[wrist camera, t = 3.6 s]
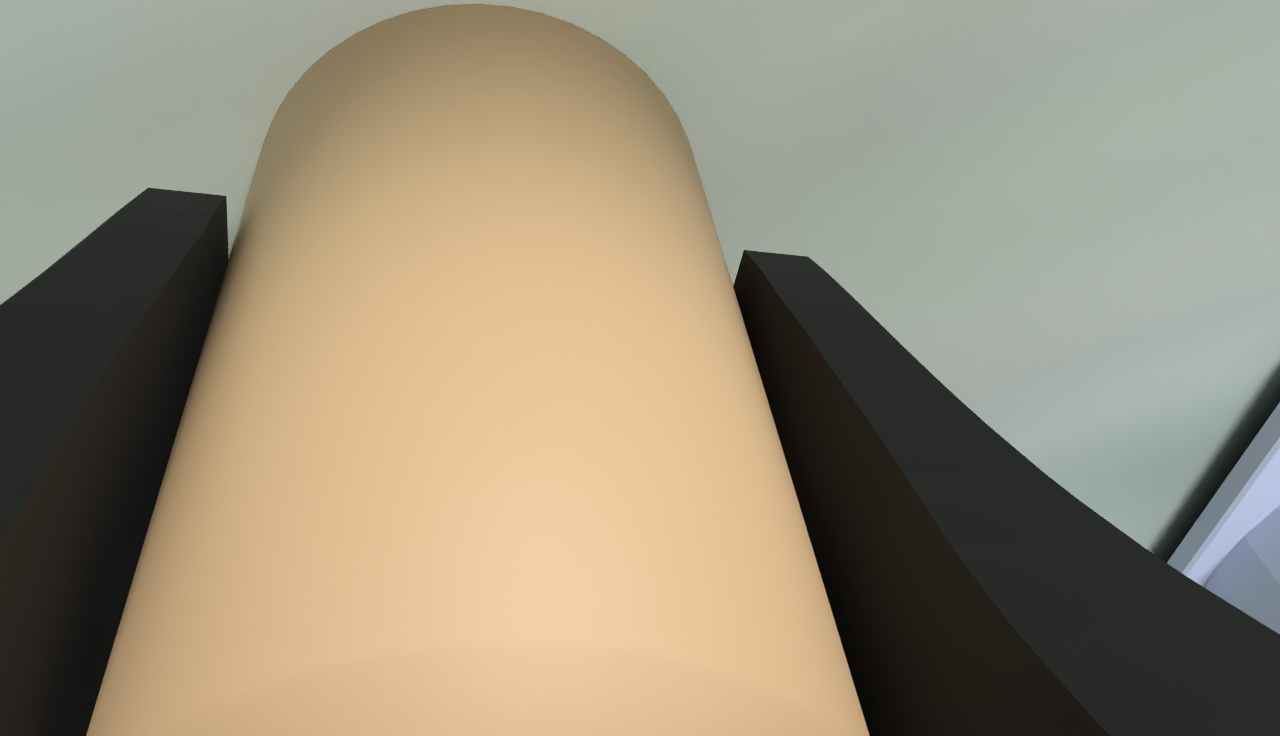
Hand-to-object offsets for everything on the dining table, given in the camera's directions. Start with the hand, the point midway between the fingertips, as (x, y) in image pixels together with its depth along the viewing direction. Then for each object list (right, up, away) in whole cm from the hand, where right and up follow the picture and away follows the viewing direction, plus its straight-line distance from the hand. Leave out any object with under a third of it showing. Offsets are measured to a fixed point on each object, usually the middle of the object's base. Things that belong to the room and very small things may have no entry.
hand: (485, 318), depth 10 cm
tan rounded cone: (0, +1, +1) cm, 2 cm away
